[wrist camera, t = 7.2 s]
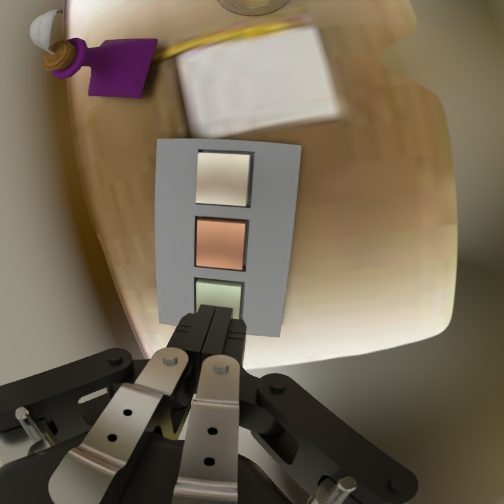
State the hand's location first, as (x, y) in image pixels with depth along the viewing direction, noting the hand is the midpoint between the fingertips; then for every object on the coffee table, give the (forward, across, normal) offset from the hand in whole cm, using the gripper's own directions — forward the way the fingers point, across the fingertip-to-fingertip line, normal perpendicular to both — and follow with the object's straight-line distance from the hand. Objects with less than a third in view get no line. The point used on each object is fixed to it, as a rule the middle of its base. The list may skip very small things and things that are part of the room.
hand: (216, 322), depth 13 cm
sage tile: (+20, +3, +9) cm, 22 cm away
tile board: (+21, +3, +2) cm, 21 cm away
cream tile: (+19, +3, -5) cm, 20 cm away
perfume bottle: (+22, +16, -18) cm, 32 cm away
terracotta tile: (+20, +3, +2) cm, 20 cm away
